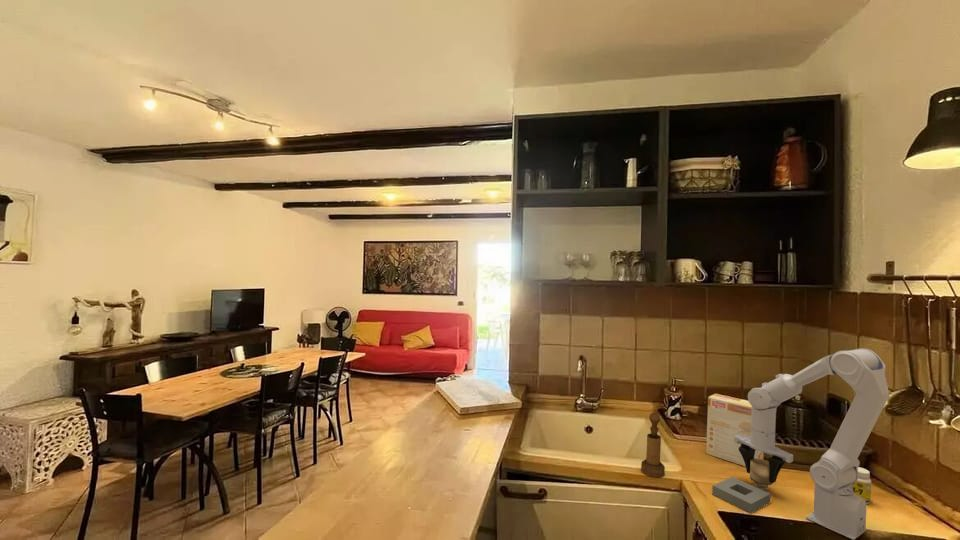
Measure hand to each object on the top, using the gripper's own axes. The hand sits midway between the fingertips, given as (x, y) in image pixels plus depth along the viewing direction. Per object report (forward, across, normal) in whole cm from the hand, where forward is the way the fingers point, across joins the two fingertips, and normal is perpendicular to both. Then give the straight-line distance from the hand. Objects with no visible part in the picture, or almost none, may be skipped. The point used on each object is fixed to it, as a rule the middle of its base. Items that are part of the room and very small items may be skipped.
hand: (761, 477), depth 119 cm
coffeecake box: (+4, +14, -12) cm, 19 cm away
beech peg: (+3, 0, 0) cm, 3 cm away
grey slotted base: (+3, 0, +10) cm, 11 cm away
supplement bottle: (+4, -16, -18) cm, 25 cm away
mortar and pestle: (+4, +21, +20) cm, 29 cm away
